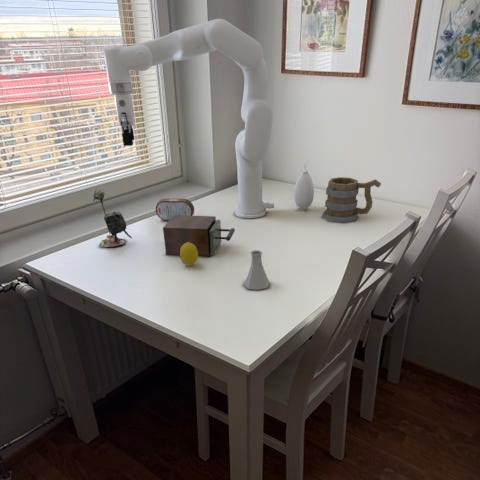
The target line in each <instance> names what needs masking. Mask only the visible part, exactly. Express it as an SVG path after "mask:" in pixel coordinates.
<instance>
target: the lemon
mask: <svg viewBox="0 0 480 480" xmlns="http://www.w3.org/2000/svg"><path fill="white" fill-rule="evenodd" d="M179 257H180V260H181V262H182V263H183V264H184V265H186V266H188V267H192V266H193V265H194V264H196V263H197V261H198V259H199V257H198V251H197V248H196V246H195V245H194V244H192V243H189V242H187V243H185V244H184V245H183V246H182V247H181V250H180V256H179Z"/></svg>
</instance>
